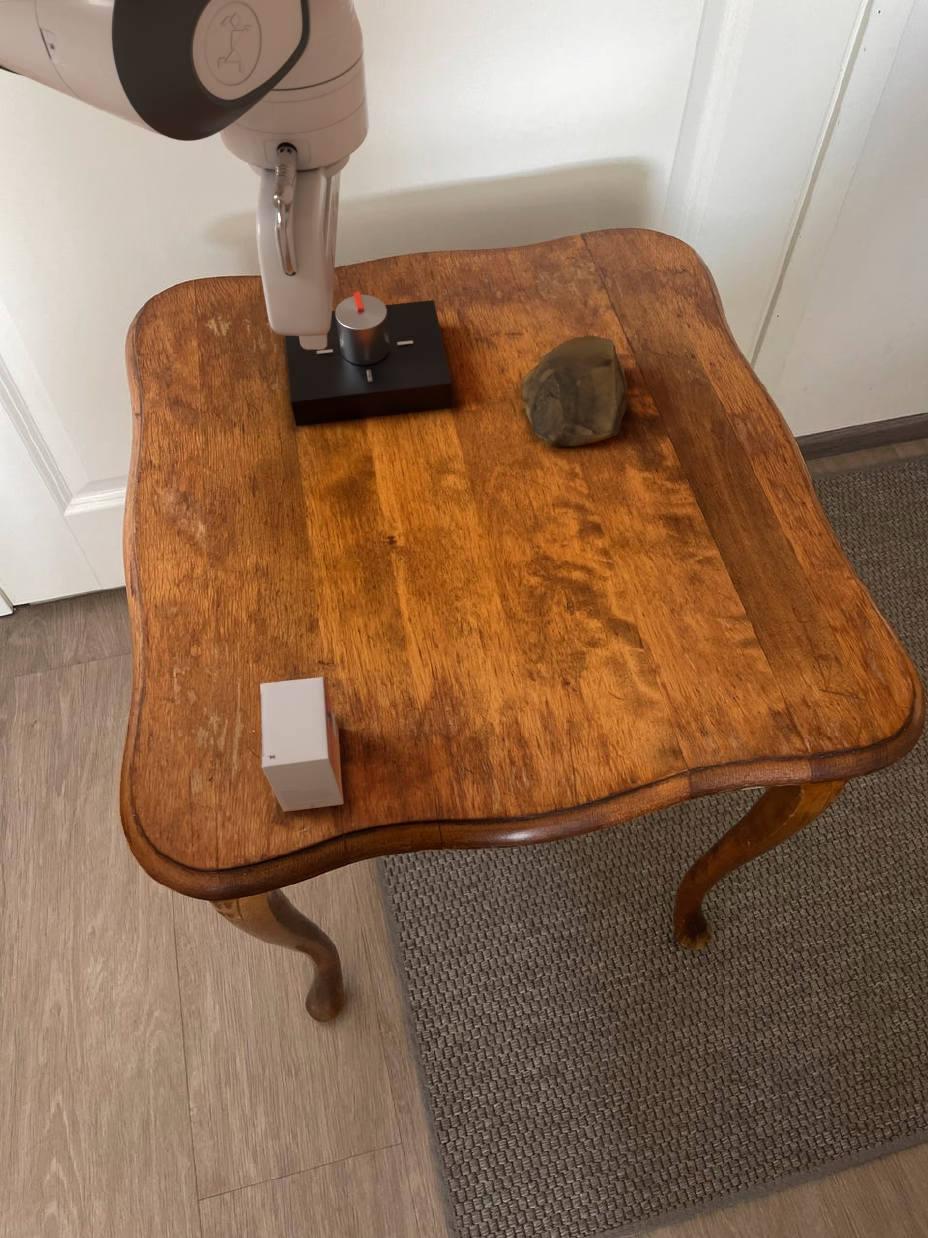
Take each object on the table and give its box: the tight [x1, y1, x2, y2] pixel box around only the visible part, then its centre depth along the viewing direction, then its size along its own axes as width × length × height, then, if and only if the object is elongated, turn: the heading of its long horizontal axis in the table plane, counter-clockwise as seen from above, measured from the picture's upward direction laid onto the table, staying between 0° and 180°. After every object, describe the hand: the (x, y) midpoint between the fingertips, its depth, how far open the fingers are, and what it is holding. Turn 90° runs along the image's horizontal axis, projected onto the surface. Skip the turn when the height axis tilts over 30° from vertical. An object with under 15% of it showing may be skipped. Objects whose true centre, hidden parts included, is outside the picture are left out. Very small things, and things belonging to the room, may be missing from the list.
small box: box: [259, 676, 345, 813], centre depth 60 cm, size 6×4×8 cm
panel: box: [284, 299, 453, 427], centre depth 82 cm, size 14×11×3 cm
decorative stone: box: [521, 335, 628, 448], centre depth 80 cm, size 10×9×4 cm
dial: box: [335, 291, 390, 365], centre depth 79 cm, size 4×4×4 cm
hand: (318, 295), depth 64 cm, fingers open, 8 cm apart
